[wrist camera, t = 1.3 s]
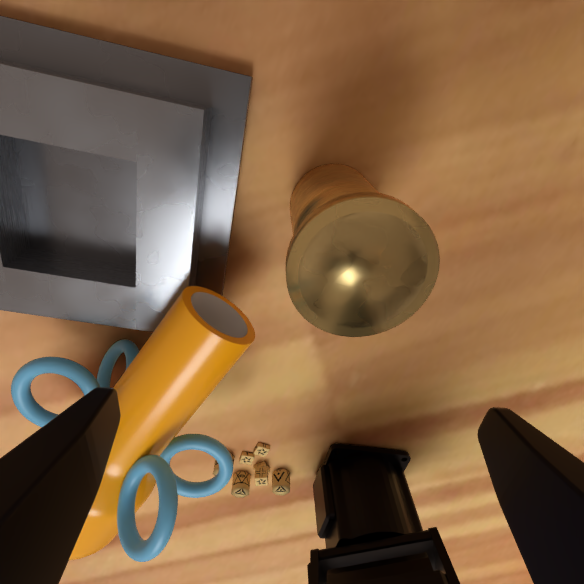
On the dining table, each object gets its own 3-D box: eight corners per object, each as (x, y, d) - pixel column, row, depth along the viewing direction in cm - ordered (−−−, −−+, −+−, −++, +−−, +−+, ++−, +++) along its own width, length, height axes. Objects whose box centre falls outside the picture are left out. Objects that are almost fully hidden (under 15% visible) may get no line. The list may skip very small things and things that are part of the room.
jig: (252, 77, 16) (248, 75, 14) (217, 330, 23) (209, 361, 20) (-100, -9, 15) (-182, -29, 12) (-28, 294, 21) (-71, 324, 19)
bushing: (394, 167, 19) (465, 216, 12) (363, 259, 21) (407, 345, 14) (293, 144, 18) (305, 182, 11) (274, 243, 20) (273, 325, 13)
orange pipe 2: (-34, 415, 21) (89, 204, 17) (136, 419, 29) (248, 273, 25) (-68, 691, 13) (143, 418, 10) (178, 598, 21) (352, 424, 17)
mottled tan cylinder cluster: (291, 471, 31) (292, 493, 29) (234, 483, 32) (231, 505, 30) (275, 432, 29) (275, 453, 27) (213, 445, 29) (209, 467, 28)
